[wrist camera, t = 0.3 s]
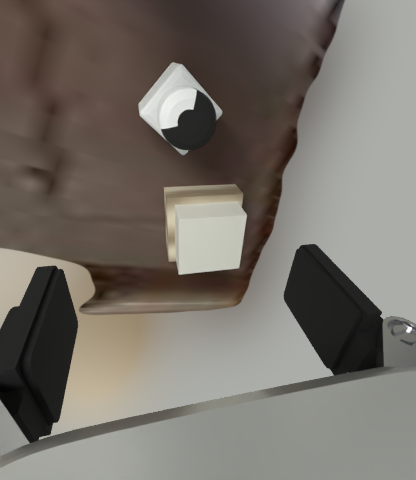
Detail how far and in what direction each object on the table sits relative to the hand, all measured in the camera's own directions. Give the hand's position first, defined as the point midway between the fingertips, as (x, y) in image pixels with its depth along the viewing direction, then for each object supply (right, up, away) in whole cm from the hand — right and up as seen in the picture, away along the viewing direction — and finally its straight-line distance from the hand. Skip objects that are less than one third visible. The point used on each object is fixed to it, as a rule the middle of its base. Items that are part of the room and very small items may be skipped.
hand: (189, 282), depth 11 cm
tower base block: (-1, +6, +38) cm, 38 cm away
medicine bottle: (-4, +20, +27) cm, 34 cm away
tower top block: (0, +3, +34) cm, 35 cm away
